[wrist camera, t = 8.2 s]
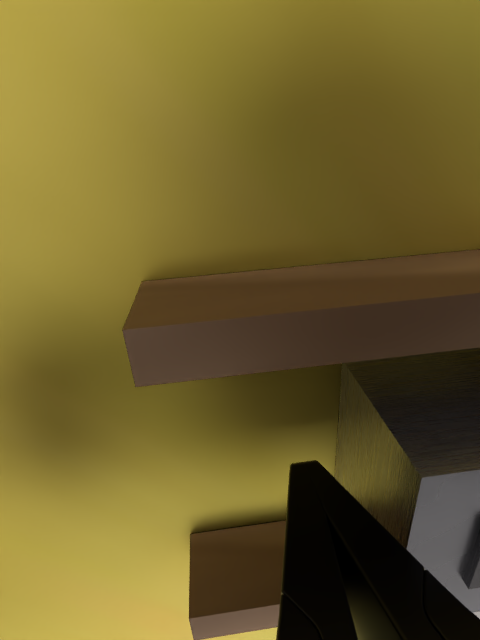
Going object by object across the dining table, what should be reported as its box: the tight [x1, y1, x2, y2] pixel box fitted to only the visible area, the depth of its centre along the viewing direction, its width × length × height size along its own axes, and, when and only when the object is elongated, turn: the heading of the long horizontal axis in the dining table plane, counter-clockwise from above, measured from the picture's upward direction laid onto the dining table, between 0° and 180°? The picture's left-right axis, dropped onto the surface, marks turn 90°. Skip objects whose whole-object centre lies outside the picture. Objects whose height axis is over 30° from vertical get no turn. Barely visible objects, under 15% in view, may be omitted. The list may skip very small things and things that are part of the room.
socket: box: [335, 347, 480, 612], centre depth 10 cm, size 5×5×4 cm
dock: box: [122, 249, 480, 640], centre depth 10 cm, size 10×11×3 cm
